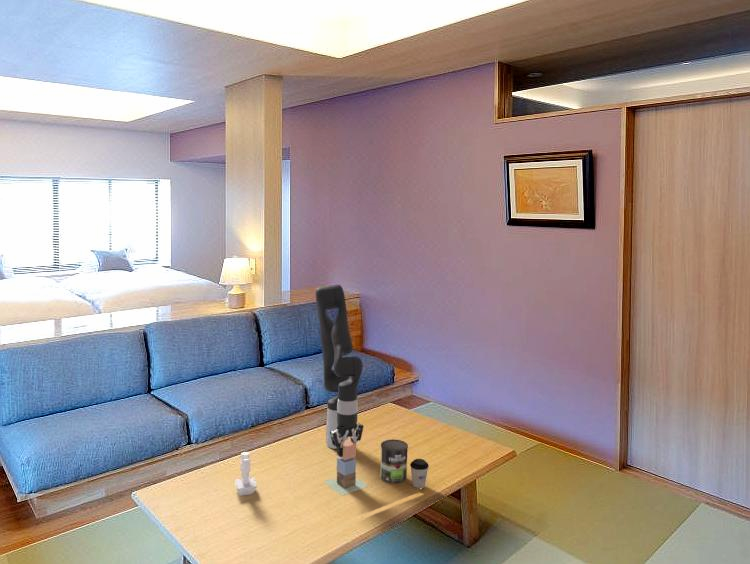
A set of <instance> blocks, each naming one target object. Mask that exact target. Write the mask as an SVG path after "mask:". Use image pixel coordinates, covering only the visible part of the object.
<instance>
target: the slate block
mask: <svg viewBox="0 0 750 564" xmlns="http://www.w3.org/2000/svg"><path fill="white" fill-rule="evenodd" d="M356 466H357V459H356V458H355V457H354V458H351V459H348V460H344V459H342V458H340V457H339V456H338V457H337V458H336V472H337V471H338V472H340V473H341V474H343V475H344V476H346V475H349V474H351V473H354V472H356V473H357V468H356Z"/></svg>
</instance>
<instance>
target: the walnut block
mask: <svg viewBox="0 0 750 564" xmlns="http://www.w3.org/2000/svg"><path fill="white" fill-rule="evenodd" d="M356 475H357V471H356V472H354V473H351V474H349V475H346V476H344V475H343V474H341V473H340V472H338V471H337V470H336V478H337V484H339V485H340V486H341V487H343V488H344V489H345V488H348V487H351V486H354V485H356V478H357V477H356Z"/></svg>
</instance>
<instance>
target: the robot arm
mask: <svg viewBox="0 0 750 564" xmlns="http://www.w3.org/2000/svg"><path fill="white" fill-rule="evenodd" d="M315 303H316V310H317V314H318V320H319V332H320V335H319V336H320V346H321V352H322V353H321V354H322V361H323V364H322V365H323V386H324V389H325V391H327V392H329V393H337V396H335V397H332V398H329V399H328V400H327V402H326V403H327V404H326V405H327V406H326V410H327V412H326V414H327V415H326V417H327V420H326V423H325V443H326V447H328V448H329V449H332V450H333V449H334V450H336V454H338V455H339V456H340V457H342V456H343V444H344V442H345V440H348V439H349V440H350V441H352V442H354V443H355V444H356V445H357V443H358V442H361V440H362V435H363V431H364V425H363V424H362V423H359V422H358V412H359V411H358V408H359V407H358V405H359V403H358V386H359V383H360V379H361V375H362V372H363V367H364V364H363V361H362V359H361V358H360V357H359V356H347V355H349V354H351V353H352V352H353V350H354V346H353V341H352V338H351V334H350V328H349V319H348V311H347V310H348V309H347V306H346V305H347V302H346V297H345V292H344V289H343V287H342V285H340V284H333V285H324V286H319V287H317V288H316V289H315ZM333 309H338V314H337V317H336V320H335V322H334V321H333V320H332V319H331V318H330V316H329V315H328V313H327V311H328V310H333ZM345 356H346V357H345ZM339 456H338V457H339Z"/></svg>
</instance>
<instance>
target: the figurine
mask: <svg viewBox="0 0 750 564" xmlns="http://www.w3.org/2000/svg"><path fill="white" fill-rule="evenodd" d="M250 456H251V455H250V452H248V451H243V452H241V453H240V462H239V463H240V471H241V478H237V479H234V480H233V481H234V484H235V485H234V486H235V487H236V491H237V493H238V494H239V496H240V497H241V496H249V495H253V494H254V492H255V491H256V489H257V487H258V484H257V482H256V478H255V476H250V472H251V459H250Z"/></svg>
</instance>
